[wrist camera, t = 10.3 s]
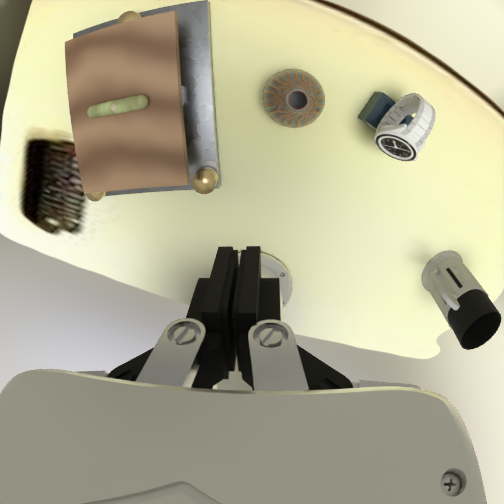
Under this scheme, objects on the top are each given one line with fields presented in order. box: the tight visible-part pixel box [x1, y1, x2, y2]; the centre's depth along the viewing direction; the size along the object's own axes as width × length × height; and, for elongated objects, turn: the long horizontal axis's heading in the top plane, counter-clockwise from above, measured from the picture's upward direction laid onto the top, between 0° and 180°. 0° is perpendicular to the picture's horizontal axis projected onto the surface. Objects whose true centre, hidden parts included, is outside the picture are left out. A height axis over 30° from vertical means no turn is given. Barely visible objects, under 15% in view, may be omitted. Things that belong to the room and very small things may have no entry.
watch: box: [358, 92, 435, 161], centre depth 30 cm, size 6×8×11 cm
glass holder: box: [422, 251, 501, 350], centre depth 39 cm, size 9×14×15 cm, turn 60°
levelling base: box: [73, 0, 221, 201], centre depth 33 cm, size 25×19×6 cm
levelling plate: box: [65, 11, 190, 194], centre depth 29 cm, size 20×14×3 cm
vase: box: [263, 69, 325, 128], centre depth 31 cm, size 7×7×9 cm
